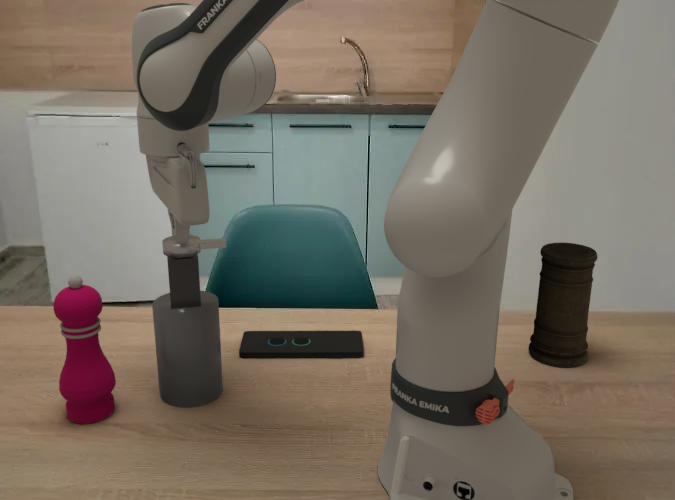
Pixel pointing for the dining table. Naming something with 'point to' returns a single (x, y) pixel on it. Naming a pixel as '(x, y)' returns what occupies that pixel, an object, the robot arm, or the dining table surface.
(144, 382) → the dining table surface
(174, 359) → the dispenser
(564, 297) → the container
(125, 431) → the dining table surface
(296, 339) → the smart home device
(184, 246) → the pump head
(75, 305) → the pepper mill
